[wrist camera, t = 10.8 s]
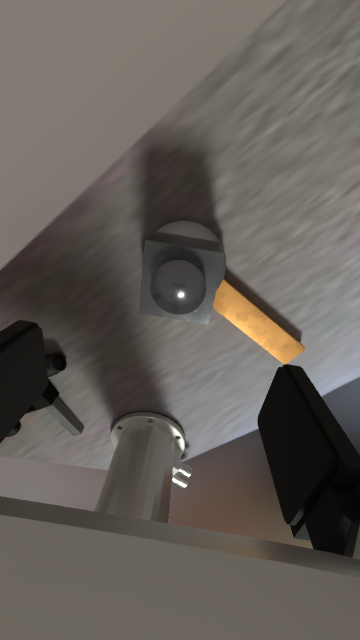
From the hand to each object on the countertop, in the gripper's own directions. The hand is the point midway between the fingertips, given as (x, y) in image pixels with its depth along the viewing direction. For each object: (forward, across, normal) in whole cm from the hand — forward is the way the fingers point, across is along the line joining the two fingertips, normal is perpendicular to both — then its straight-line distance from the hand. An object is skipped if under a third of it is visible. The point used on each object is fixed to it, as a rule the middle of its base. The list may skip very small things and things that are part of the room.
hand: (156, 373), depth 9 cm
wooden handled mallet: (+20, -6, +3) cm, 21 cm away
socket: (+18, 0, 0) cm, 18 cm away
